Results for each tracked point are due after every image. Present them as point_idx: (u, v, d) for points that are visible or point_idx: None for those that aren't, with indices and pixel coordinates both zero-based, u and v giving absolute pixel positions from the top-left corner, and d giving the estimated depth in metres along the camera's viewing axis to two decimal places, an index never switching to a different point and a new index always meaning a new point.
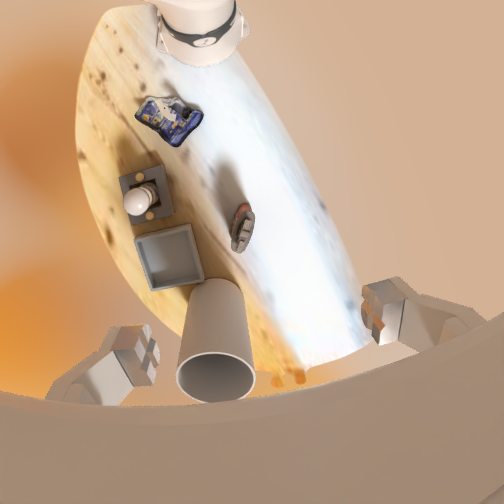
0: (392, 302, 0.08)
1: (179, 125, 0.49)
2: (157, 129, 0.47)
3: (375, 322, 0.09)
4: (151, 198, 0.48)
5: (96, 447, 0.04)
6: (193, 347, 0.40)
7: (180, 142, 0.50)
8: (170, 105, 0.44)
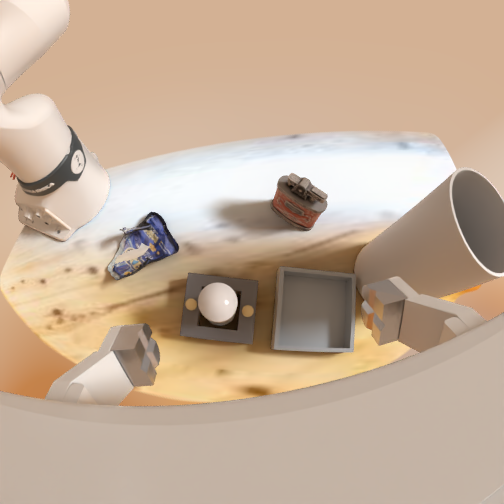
0: (392, 302, 0.08)
1: (156, 242, 0.44)
2: (147, 261, 0.40)
3: (375, 322, 0.09)
4: None
5: (96, 447, 0.04)
6: (444, 233, 0.23)
7: (175, 245, 0.43)
8: (125, 232, 0.39)
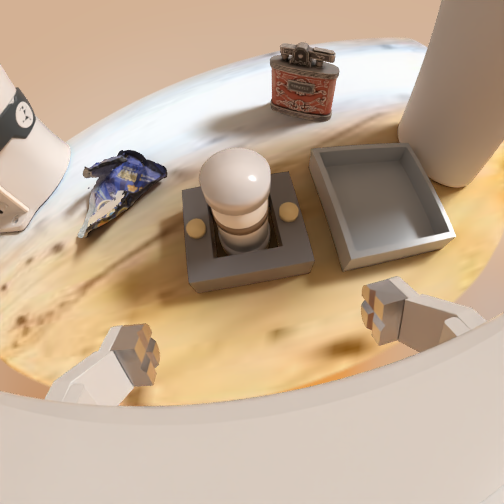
0: (392, 302, 0.08)
1: (135, 181, 0.30)
2: (125, 195, 0.26)
3: (375, 322, 0.09)
4: None
5: (96, 447, 0.04)
6: (481, 1, 0.08)
7: (160, 170, 0.29)
8: (90, 170, 0.25)
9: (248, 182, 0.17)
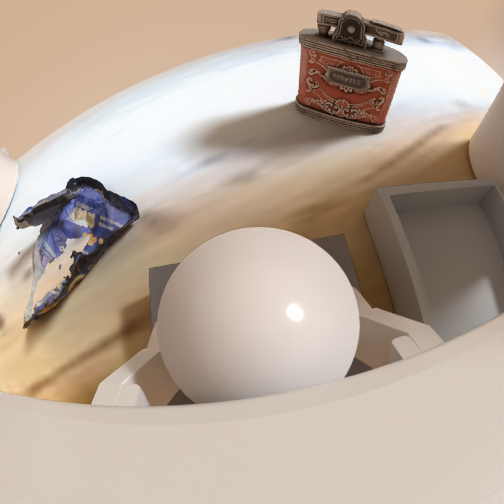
0: None
1: (93, 226, 0.18)
2: (75, 260, 0.14)
3: None
4: None
5: (96, 447, 0.04)
6: None
7: (129, 208, 0.18)
8: None
9: (299, 356, 0.06)
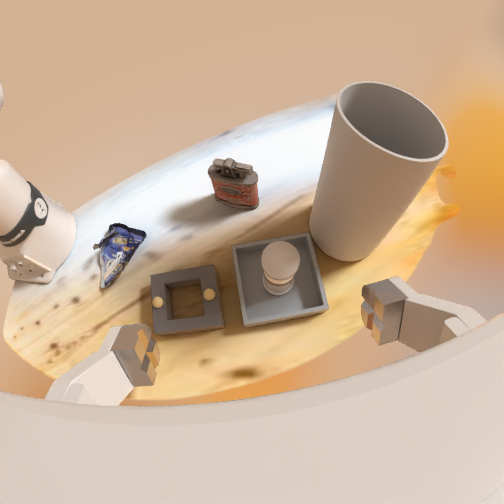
0: (392, 302, 0.08)
1: (126, 243, 0.47)
2: (126, 255, 0.43)
3: (375, 322, 0.09)
4: None
5: (96, 447, 0.04)
6: (346, 143, 0.24)
7: (141, 233, 0.47)
8: None
9: (288, 264, 0.33)
